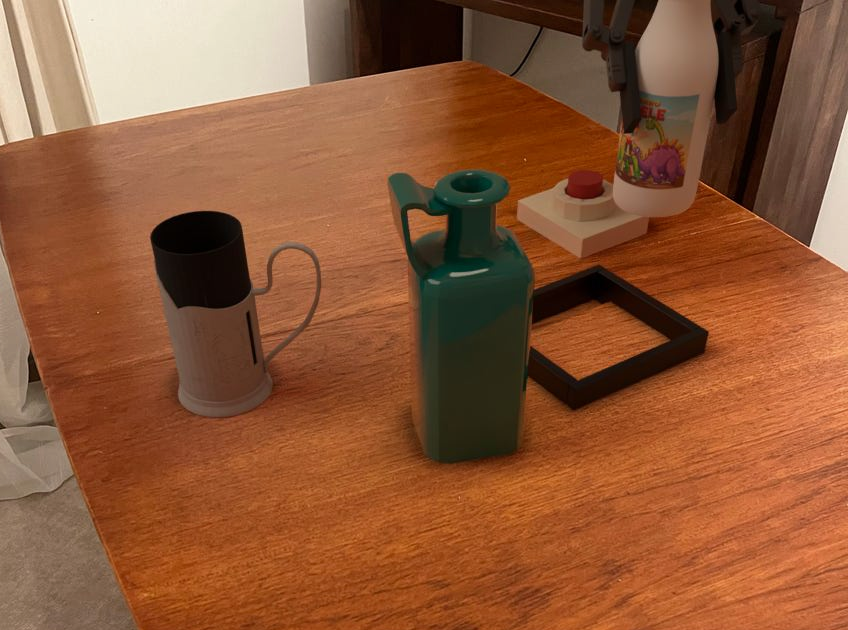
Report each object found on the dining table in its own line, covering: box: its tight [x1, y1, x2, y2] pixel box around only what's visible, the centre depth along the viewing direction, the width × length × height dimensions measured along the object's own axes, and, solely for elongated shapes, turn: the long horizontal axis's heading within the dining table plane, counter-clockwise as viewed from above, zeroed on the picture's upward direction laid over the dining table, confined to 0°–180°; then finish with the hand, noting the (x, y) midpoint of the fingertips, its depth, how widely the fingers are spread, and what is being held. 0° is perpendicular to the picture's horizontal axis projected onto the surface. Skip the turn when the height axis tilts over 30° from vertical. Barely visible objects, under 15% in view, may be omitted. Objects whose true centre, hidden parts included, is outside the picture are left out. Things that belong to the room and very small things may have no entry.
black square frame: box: [528, 264, 710, 411], centre depth 93 cm, size 15×15×3 cm
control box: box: [516, 178, 650, 259], centre depth 109 cm, size 11×9×4 cm
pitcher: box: [387, 168, 536, 464], centre depth 78 cm, size 10×8×22 cm
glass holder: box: [149, 210, 322, 418], centre depth 88 cm, size 9×14×15 cm, turn 88°
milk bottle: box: [612, 0, 718, 218], centre depth 89 cm, size 8×8×20 cm
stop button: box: [567, 169, 604, 200], centre depth 107 cm, size 4×4×2 cm
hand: (679, 121), depth 88 cm, fingers closed on milk bottle, 8 cm apart
